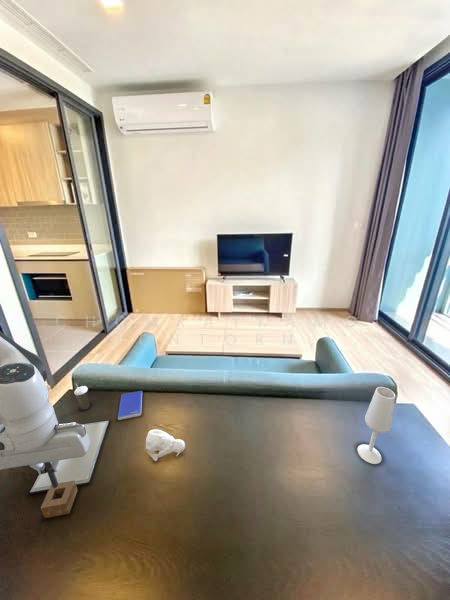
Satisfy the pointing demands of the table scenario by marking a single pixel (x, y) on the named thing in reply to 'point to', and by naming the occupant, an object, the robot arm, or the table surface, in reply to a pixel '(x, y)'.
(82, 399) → the milkshake
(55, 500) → the stand
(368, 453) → the champagne flute
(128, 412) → the hard drive
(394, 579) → the table surface
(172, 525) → the table surface
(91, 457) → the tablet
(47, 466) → the stylus
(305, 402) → the table surface
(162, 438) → the white animal figurine
